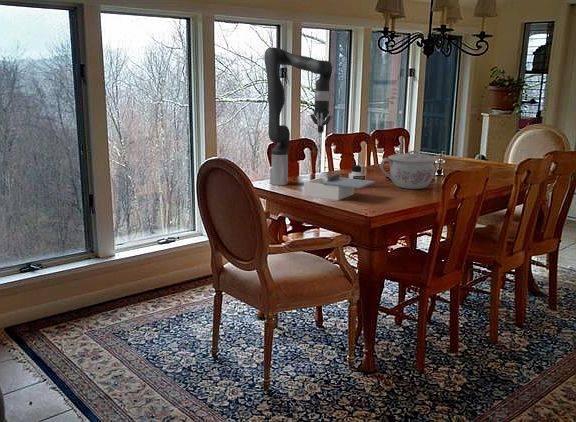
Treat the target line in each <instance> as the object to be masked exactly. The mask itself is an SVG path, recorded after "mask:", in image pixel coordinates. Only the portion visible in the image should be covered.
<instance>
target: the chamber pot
mask: <svg viewBox="0 0 576 422" xmlns="http://www.w3.org/2000/svg"><path fill="white" fill-rule="evenodd" d="M438 160H439V158H438V157H436V156H433V155H429V154H424V153H419V152H418V151H417V150H410V151H408V152H406V153H397V154H392V155H389V156H387V157H384V158H382V159H381V161H380V164H379V167H380V170H381V172H382V173H383V174H384V175H385V176H387V177H388V178H389V179H390V180H391V181H392V183H394V185H395V186H396V187H398V188H401V189H403V188H404V189H405V190H422V189H425V188H428V186H429V185H430V184H431V182H432V181H433V180H434V176H435V171H436V170H435V169H436V168H435V165H434V163H435V162H437V161H438ZM385 162H388V163H389V173H388V172H387V171H386V170H385V169H384V164H385Z"/></svg>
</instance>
